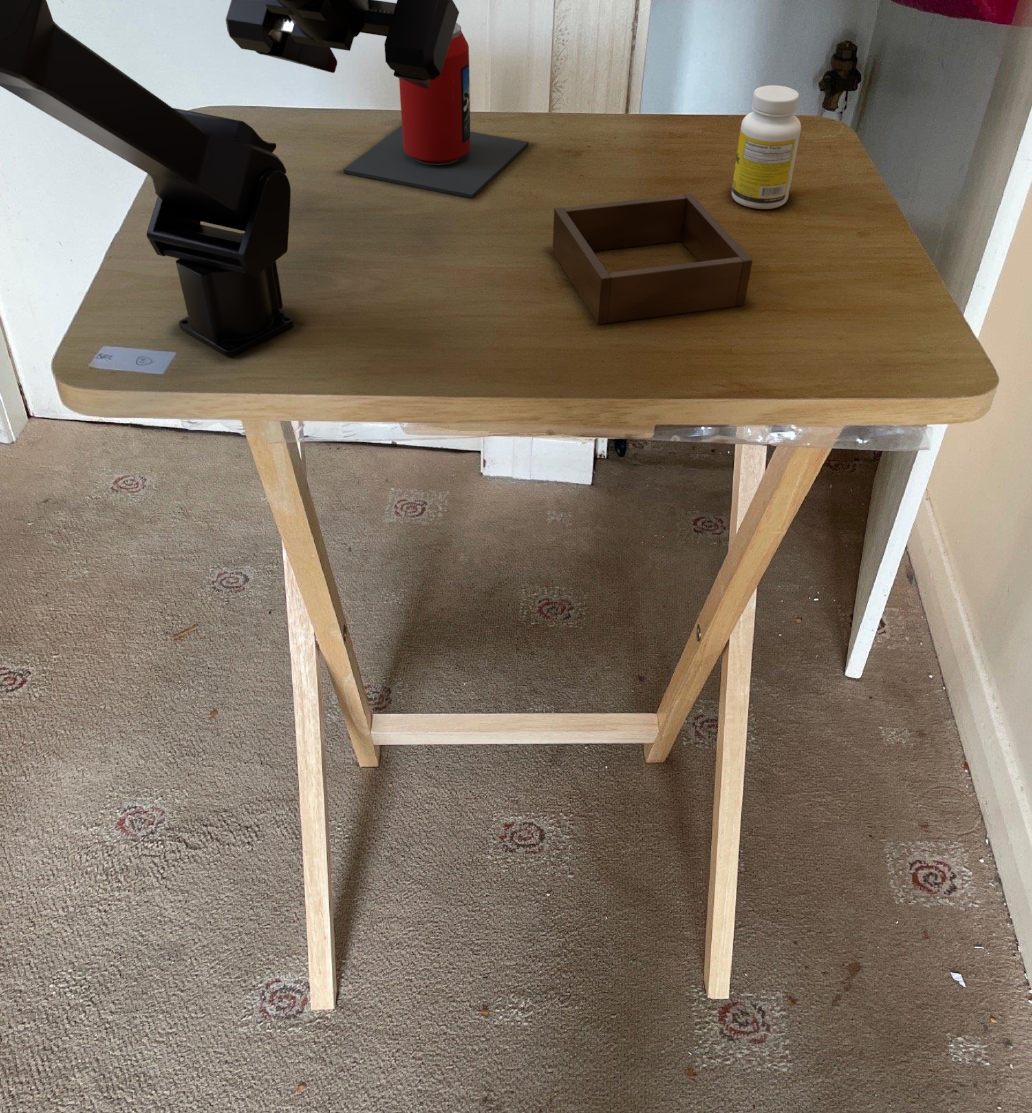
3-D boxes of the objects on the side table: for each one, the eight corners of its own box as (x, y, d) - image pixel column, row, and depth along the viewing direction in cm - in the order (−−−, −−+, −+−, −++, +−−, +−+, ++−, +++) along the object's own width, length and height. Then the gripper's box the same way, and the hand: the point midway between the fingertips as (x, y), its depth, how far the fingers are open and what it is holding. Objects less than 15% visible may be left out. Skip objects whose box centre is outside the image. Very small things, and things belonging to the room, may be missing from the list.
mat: (472, 198, 98) (472, 194, 98) (343, 173, 102) (343, 169, 102) (528, 145, 108) (528, 141, 108) (408, 123, 112) (408, 120, 112)
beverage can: (484, 157, 105) (483, 29, 96) (430, 174, 101) (424, 43, 93) (443, 136, 108) (439, 11, 100) (390, 152, 105) (381, 24, 97)
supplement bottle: (745, 181, 102) (763, 77, 95) (796, 196, 100) (818, 90, 93) (720, 200, 99) (736, 94, 92) (772, 216, 97) (792, 108, 90)
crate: (597, 324, 82) (601, 278, 79) (552, 251, 91) (554, 207, 88) (744, 305, 85) (752, 259, 82) (686, 236, 93) (692, 193, 91)
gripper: (444, -133, 73) (505, -1, 88) (220, -156, 78) (314, -27, 93) (399, 20, 73) (467, 126, 88) (178, -13, 78) (278, 92, 93)
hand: (380, 74), depth 90 cm, fingers open, 9 cm apart
